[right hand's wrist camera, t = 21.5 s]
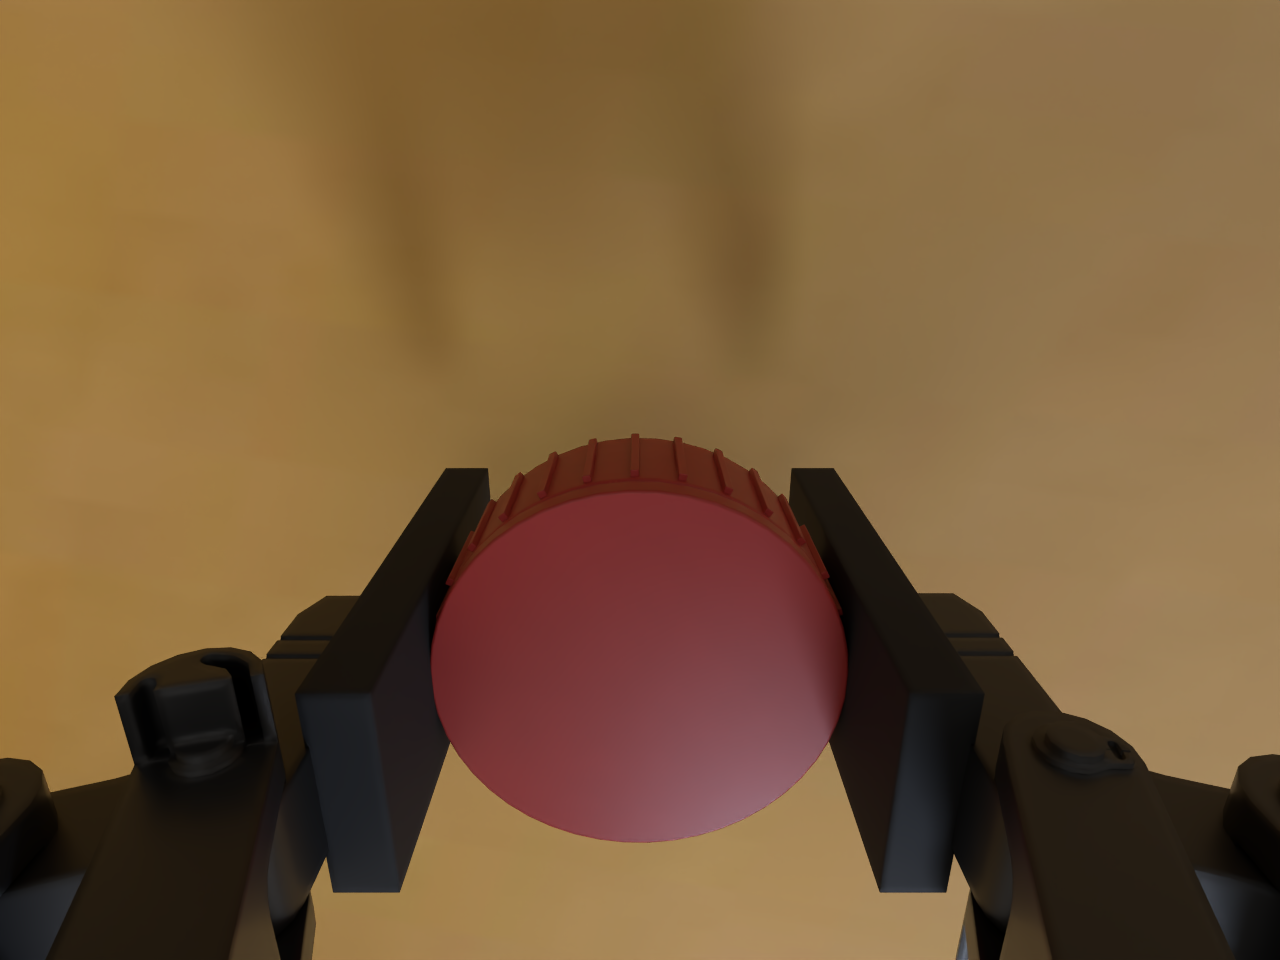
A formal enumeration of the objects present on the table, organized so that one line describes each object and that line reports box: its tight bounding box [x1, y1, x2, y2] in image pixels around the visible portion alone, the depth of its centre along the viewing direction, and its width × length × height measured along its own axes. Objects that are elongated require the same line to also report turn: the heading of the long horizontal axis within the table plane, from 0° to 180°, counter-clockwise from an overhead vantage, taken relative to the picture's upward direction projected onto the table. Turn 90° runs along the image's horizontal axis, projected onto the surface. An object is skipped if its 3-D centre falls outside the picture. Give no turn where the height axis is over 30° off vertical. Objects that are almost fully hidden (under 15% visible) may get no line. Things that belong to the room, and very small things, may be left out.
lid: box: [430, 434, 848, 843], centre depth 11 cm, size 6×6×2 cm
